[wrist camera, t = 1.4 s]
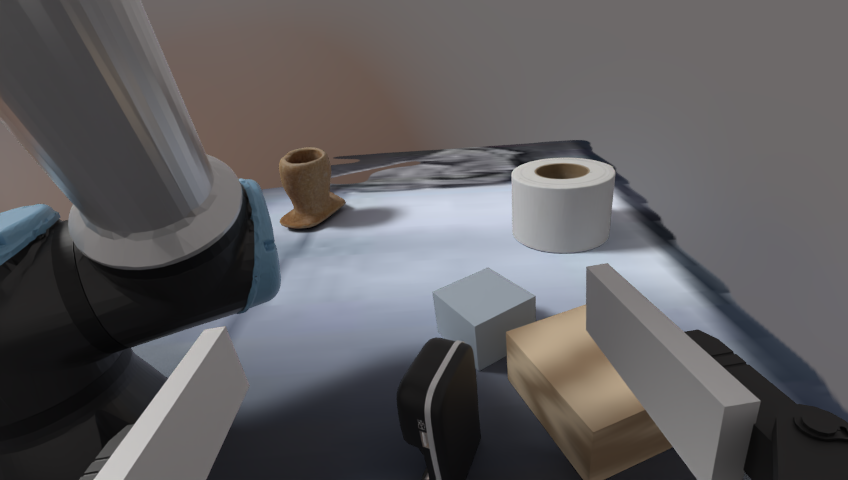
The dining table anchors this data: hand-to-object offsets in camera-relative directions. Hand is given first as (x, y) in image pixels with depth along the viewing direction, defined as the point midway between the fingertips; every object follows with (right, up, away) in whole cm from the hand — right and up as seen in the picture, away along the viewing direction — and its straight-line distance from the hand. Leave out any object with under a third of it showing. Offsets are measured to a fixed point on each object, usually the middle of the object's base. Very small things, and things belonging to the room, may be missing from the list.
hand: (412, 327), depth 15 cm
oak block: (+16, -12, +22) cm, 30 cm away
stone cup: (-22, +8, +73) cm, 77 cm away
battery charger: (+2, -16, +19) cm, 25 cm away
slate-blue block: (+8, -8, +32) cm, 34 cm away
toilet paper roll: (+23, +4, +54) cm, 59 cm away
